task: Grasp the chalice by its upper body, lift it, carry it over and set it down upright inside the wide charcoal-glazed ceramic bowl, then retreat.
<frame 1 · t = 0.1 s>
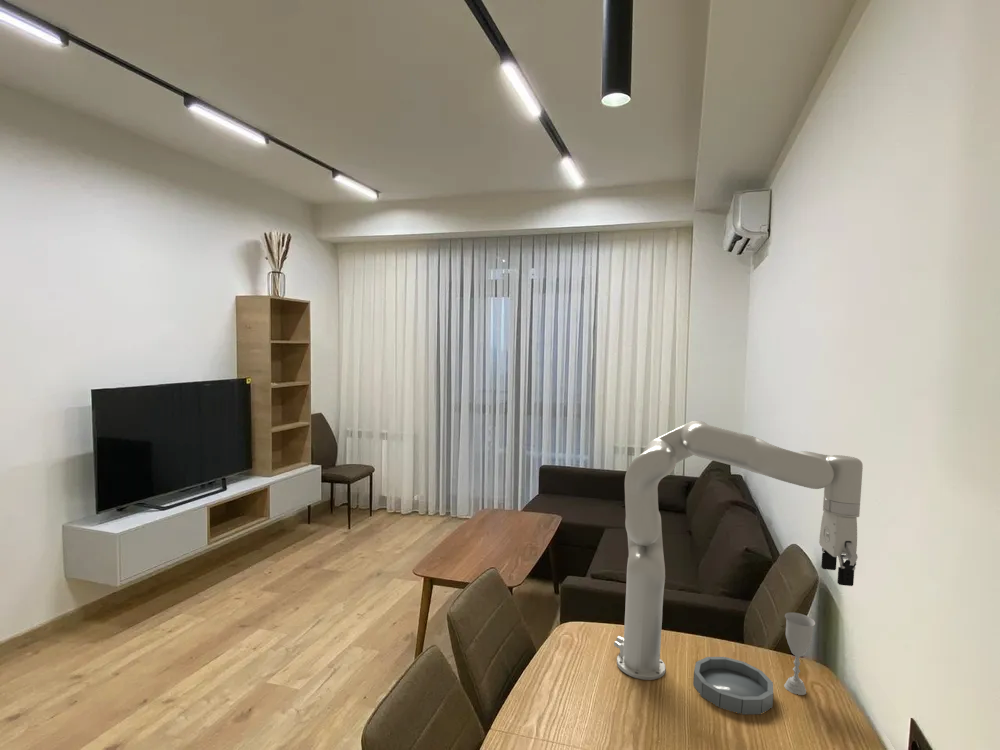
hand: (836, 576, 132), 31 cm above the table, tool pointing down, fingers open, 9 cm apart
chalice: (795, 689, 138), on the table
bowl: (732, 690, 136), on the table
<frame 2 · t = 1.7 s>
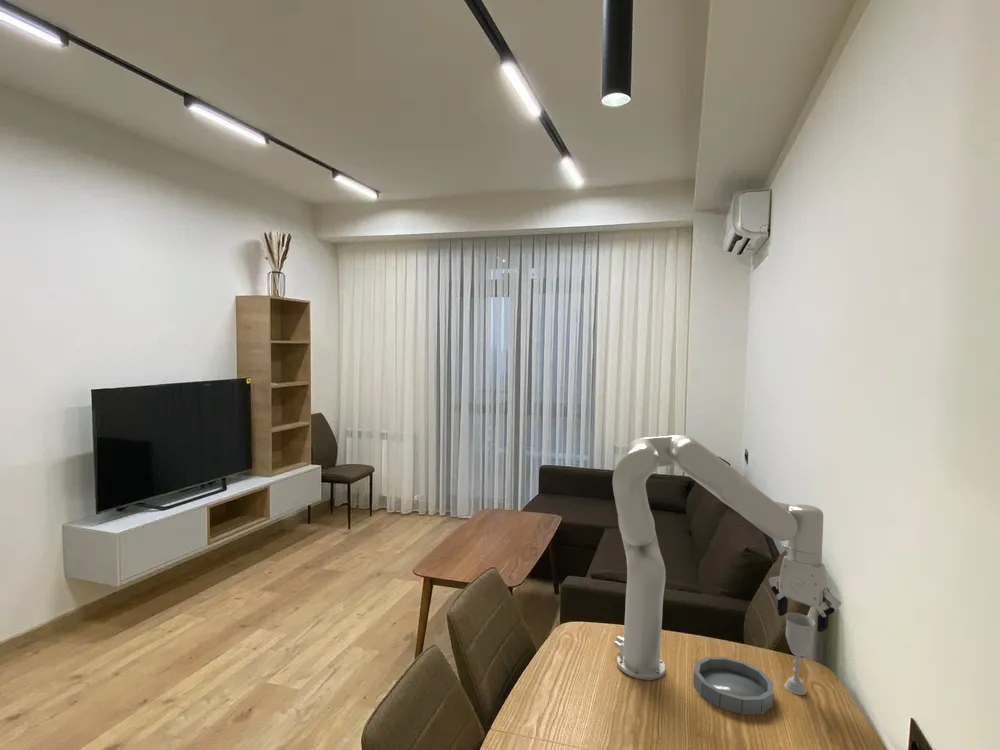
hand: (801, 622, 137), 17 cm above the table, tool pointing down, fingers open, 9 cm apart
nothing on the table moved.
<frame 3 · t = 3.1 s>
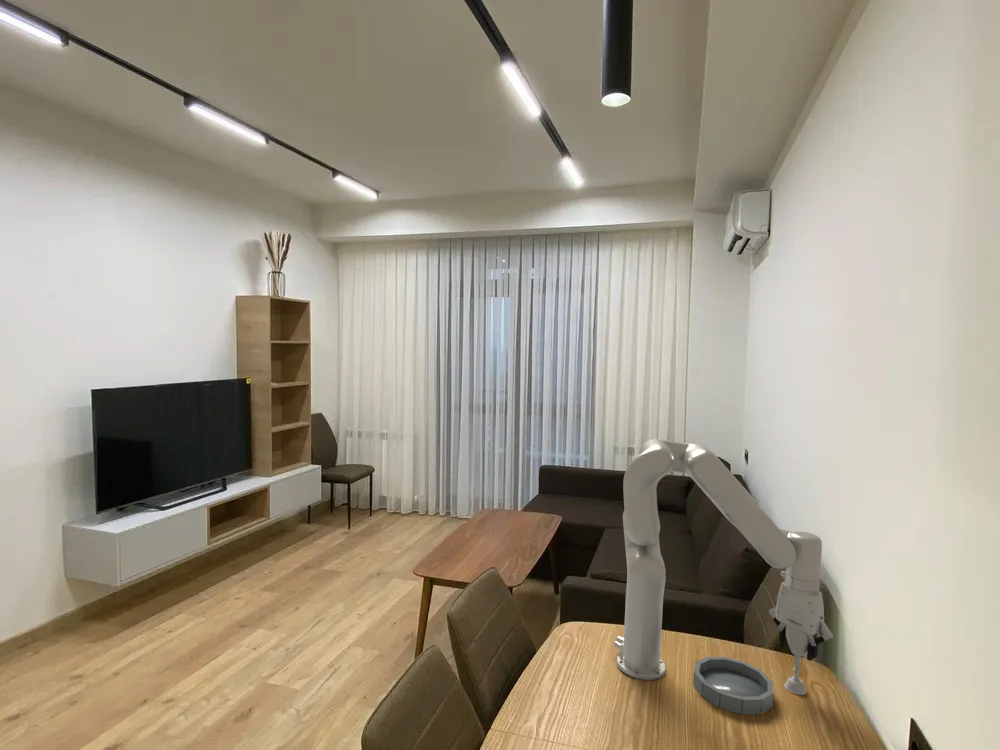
hand: (797, 651, 138), 10 cm above the table, tool pointing down, fingers closed on chalice, 6 cm apart
chalice: (795, 689, 138), on the table, touching gripper
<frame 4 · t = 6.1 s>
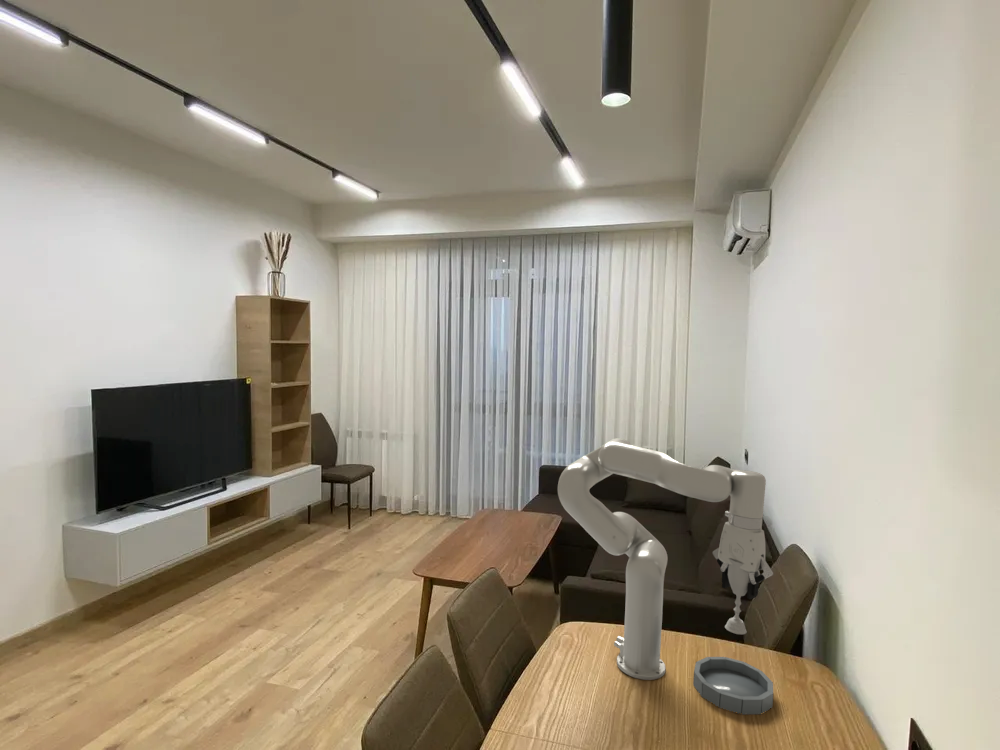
hand: (738, 591, 135), 25 cm above the table, tool pointing down, fingers closed on chalice, 6 cm apart
chalice: (735, 629, 136), point 15 cm above the table, touching gripper
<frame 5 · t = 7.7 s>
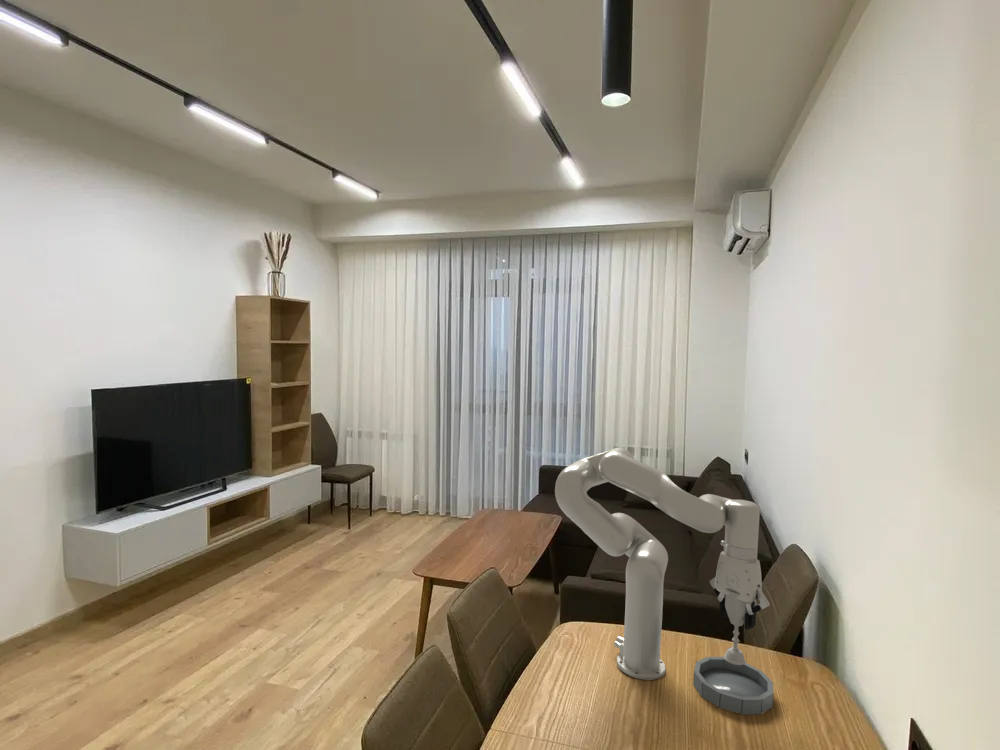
hand: (736, 621, 135), 18 cm above the table, tool pointing down, fingers closed on chalice, 6 cm apart
chalice: (734, 660, 136), point 8 cm above the table, touching gripper
when the fingers open (12 cm above the table, at t = 9.1 s): chalice drops 2 cm, resting on bowl.
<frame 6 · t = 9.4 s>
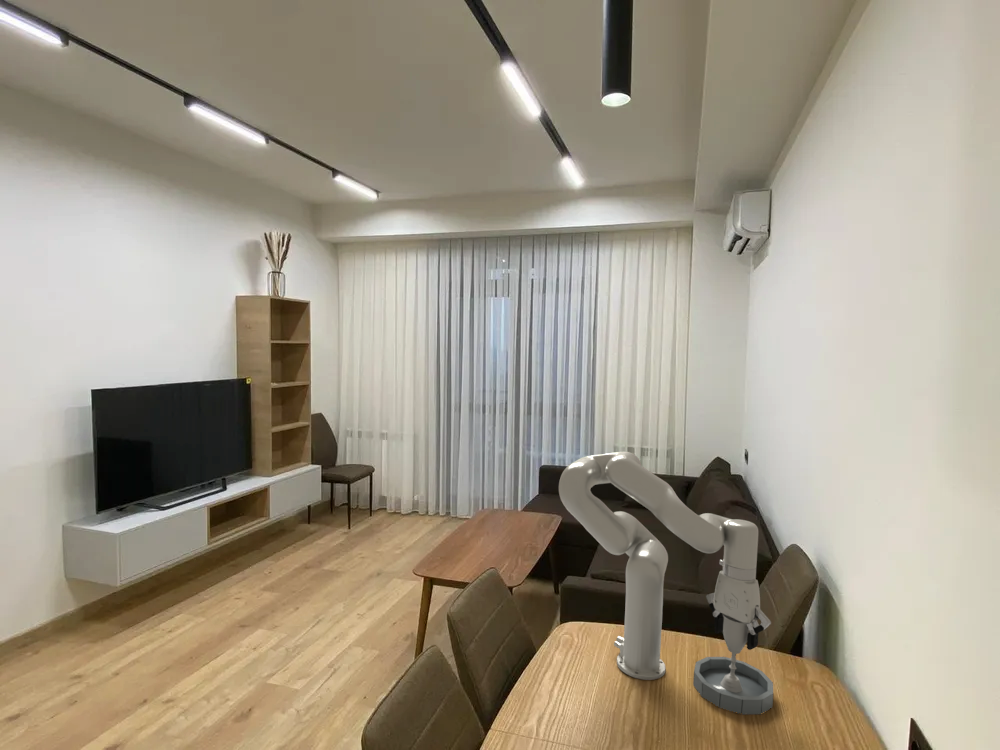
hand: (735, 639, 136), 13 cm above the table, tool pointing down, fingers open, 8 cm apart
chalice: (731, 686, 136), point 1 cm above the table, touching bowl
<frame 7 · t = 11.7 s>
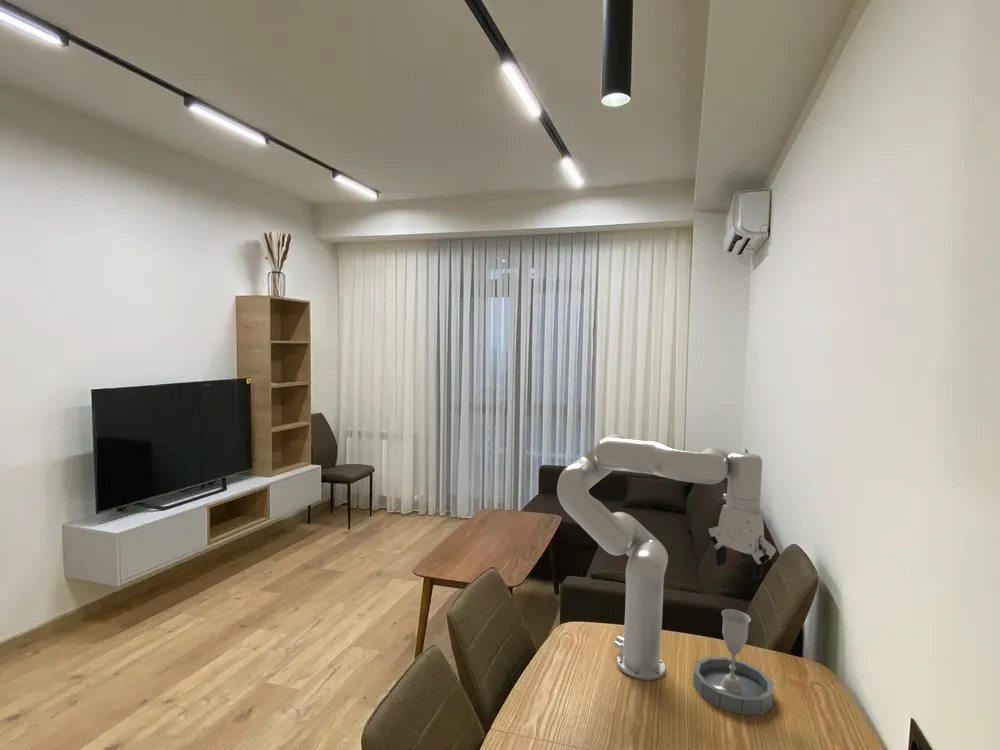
hand: (738, 571, 135), 30 cm above the table, tool pointing down, fingers open, 9 cm apart
nothing on the table moved.
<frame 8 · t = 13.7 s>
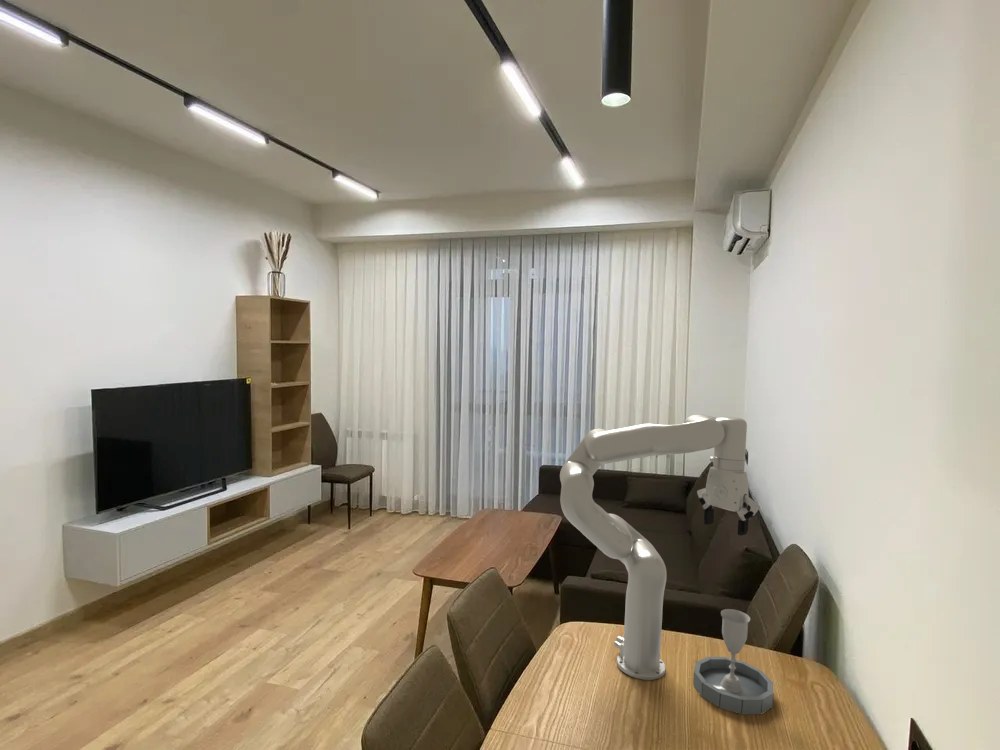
hand: (725, 529, 143), 38 cm above the table, tool pointing down, fingers open, 9 cm apart
nothing on the table moved.
at the end: chalice inside the target area on the bowl (0.2 cm from its centre), point 0.8 cm above the bowl's base; chalice tilted 0°; the gripper is holding nothing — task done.
